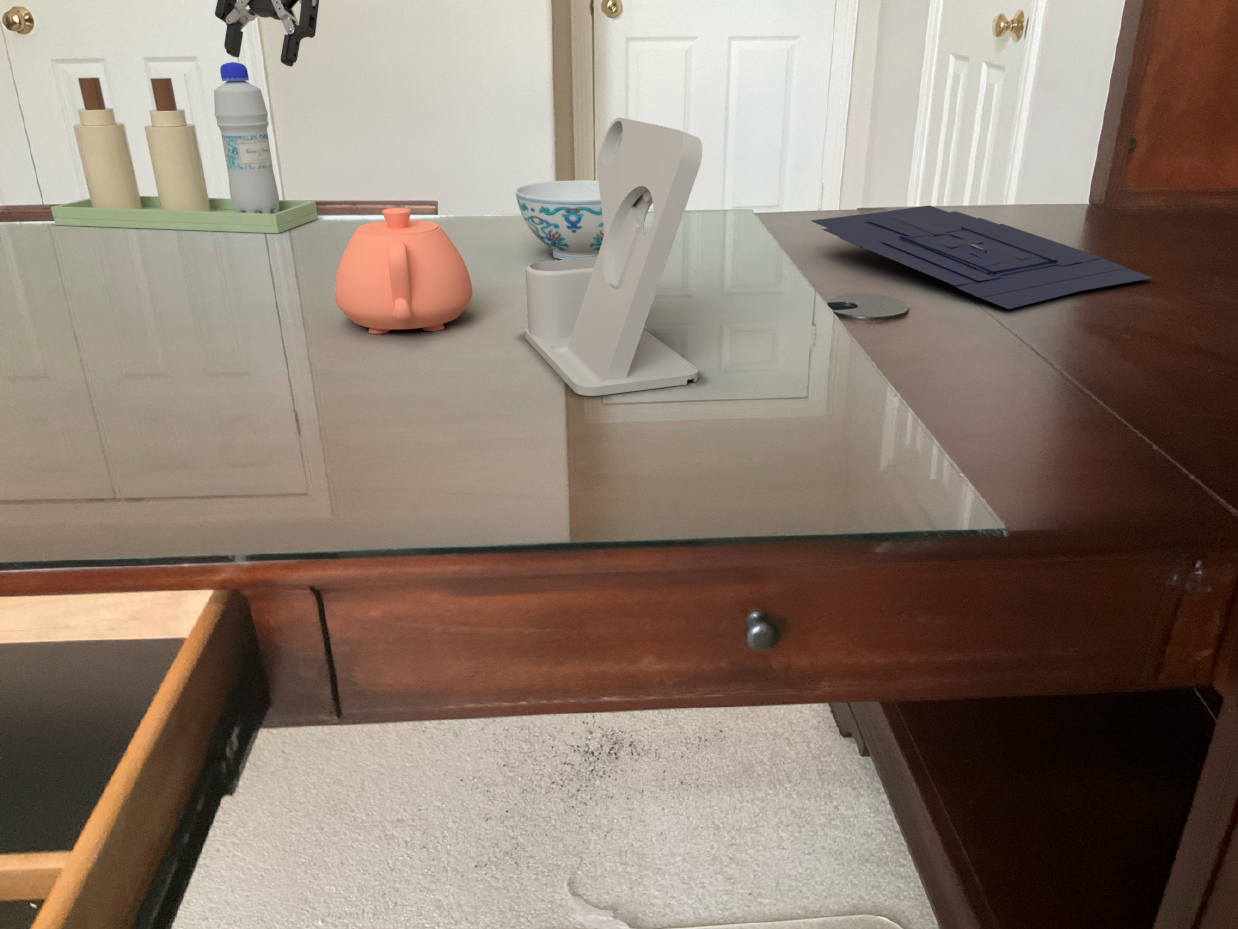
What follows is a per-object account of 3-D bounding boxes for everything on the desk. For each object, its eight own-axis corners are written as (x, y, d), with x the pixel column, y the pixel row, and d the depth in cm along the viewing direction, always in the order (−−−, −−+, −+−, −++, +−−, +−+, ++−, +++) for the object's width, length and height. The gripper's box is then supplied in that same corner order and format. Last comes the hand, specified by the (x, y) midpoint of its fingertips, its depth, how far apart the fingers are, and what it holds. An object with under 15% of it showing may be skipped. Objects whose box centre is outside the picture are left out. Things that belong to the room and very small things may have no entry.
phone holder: (520, 333, 83) (510, 118, 75) (627, 322, 86) (627, 114, 78) (580, 397, 68) (575, 137, 60) (706, 381, 71) (716, 132, 63)
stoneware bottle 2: (154, 215, 132) (126, 78, 124) (197, 209, 136) (173, 76, 129) (175, 220, 128) (147, 79, 121) (219, 214, 133) (195, 77, 125)
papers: (934, 224, 122) (941, 197, 120) (1145, 301, 101) (1157, 269, 99) (793, 244, 111) (798, 214, 109) (998, 336, 89) (1009, 300, 87)
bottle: (247, 222, 126) (220, 62, 118) (223, 217, 130) (196, 61, 122) (292, 216, 131) (269, 61, 122) (268, 211, 135) (244, 61, 126)
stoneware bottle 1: (86, 212, 134) (54, 77, 126) (131, 207, 138) (102, 76, 131) (105, 217, 130) (73, 78, 122) (150, 211, 134) (122, 77, 127)
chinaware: (543, 274, 103) (540, 203, 100) (502, 248, 115) (499, 184, 112) (664, 262, 108) (665, 194, 105) (612, 238, 121) (612, 177, 118)
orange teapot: (472, 301, 92) (465, 196, 88) (477, 343, 80) (469, 222, 76) (345, 307, 91) (331, 199, 86) (330, 351, 78) (313, 227, 74)
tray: (55, 225, 131) (50, 206, 130) (108, 211, 141) (105, 194, 140) (278, 233, 125) (275, 214, 124) (318, 218, 135) (315, 201, 134)
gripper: (338, -40, 132) (318, 76, 134) (248, -53, 134) (229, 61, 136) (311, -66, 124) (290, 58, 126) (216, -79, 127) (197, 42, 129)
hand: (259, 59), depth 131 cm, fingers open, 8 cm apart
